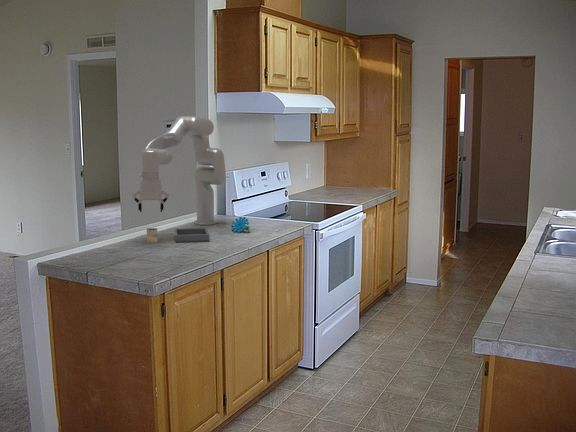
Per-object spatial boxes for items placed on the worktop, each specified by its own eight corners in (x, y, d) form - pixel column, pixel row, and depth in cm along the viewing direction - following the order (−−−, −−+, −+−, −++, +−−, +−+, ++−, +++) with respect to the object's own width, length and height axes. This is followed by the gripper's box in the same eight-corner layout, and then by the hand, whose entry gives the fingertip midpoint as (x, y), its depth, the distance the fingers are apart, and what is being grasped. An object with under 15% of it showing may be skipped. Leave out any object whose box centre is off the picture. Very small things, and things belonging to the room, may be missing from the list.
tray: (174, 235, 314) (174, 229, 313) (206, 234, 317) (206, 228, 316) (175, 242, 298) (175, 235, 298) (209, 241, 302) (209, 234, 301)
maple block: (147, 240, 303) (146, 228, 302) (157, 240, 304) (157, 227, 303) (147, 242, 298) (146, 230, 297) (157, 242, 299) (157, 229, 298)
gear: (226, 228, 326) (237, 213, 329) (231, 234, 330) (241, 220, 334) (242, 234, 319) (252, 219, 323) (246, 240, 324) (257, 225, 328)
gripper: (131, 176, 290) (132, 213, 292) (169, 176, 293) (169, 212, 296) (132, 175, 297) (132, 210, 300) (168, 175, 300) (169, 210, 303)
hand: (151, 211), depth 298 cm, fingers open, 9 cm apart
